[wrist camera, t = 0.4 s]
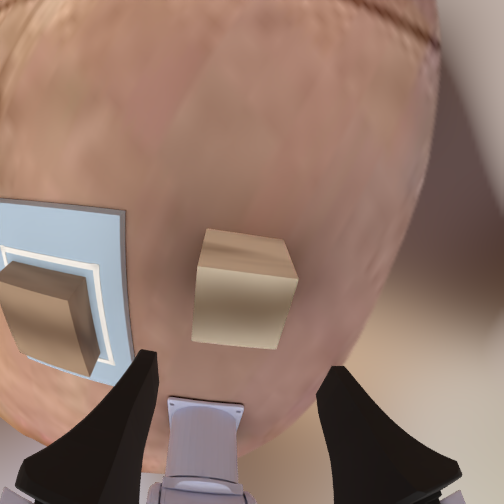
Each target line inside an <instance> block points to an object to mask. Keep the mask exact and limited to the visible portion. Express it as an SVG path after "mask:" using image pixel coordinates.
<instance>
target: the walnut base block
mask: <svg viewBox="0 0 504 504" xmlns="http://www.w3.org/2000/svg"><path fill="white" fill-rule="evenodd" d="M0 304H1V307H2V310H3V313H4V316H5V318H6V321H7V323H8V326H9V328H10V331H11V333H12V336H13V338H14V340H15V342H16V345H17V347H18V349H19V351H20V353H22V354H25V355H27V356H29V357H32V358H34V359H37V360H40V361H42V362H45V363H47V364H50V365H53V366H56V367H59V368H62V369H64V370H67V371H71V372H74V373H77V374H80V375H83V376H87V377H90V376H91V374H92V371H93V369H94V367H95V364H96V362H97V360H98V358H99V355H100V349H99V345H98V340H97V336H96V332H95V327H94V322H93V317H92V312H91V307H90V301H89V295H88V289H87V282H86V277H83V276H78V275H73V274H68V273H63V272H59V271H54V270H50V269H45V268H41V267H37V266H32V265H28V264H24V263H20V262H16V261H12V262H10V263H9V264H8V265H7V266H6V267H5V268H4V269H2V270H1V271H0Z"/></svg>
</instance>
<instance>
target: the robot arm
mask: <svg viewBox="0 0 504 504" xmlns="http://www.w3.org/2000/svg"><path fill="white" fill-rule="evenodd" d="M158 387H159V375H158V363H157V352H154V351H148V350H143V349H142V350H140V351H139V352H138V354H137V356H136V357H135V359H134V360H133V362H132V363H131V365H130V366H129V367H128V369H127V370H126V372H125V373H124V374H123V376H122V377H121V378H120V379H119V381H118V382H117V383H116V385H115V386H114V387H113V388H112V390H111V391H110V392H109V393H108V394H107V395H106V396H105V398H104V399H103V400H102V401H101V402H100V403H99V404H98V405H97V406H96V407H95V408H94V409H93V410H92V411H91V412H90V413H89V414H88V415H87V416H86V417H85V418H84V419H83V420H82V421H81V422H80V423H78V424H77V425H76V426H75V427H74V428H73V429H71V430H70V431H69V432H68V433H66V434H65V435H64V436H62V437H61V438H59V439H58V440H56V441H55V442H53V443H52V444H51V445H49V446H48V447H46V448H44V449H43V450H41V451H39V452H37V453H35V454H33V455H32V456H30V457H28V458H26V459H24V461H23V463H22V465H21V467H20V470H19V472H18V476H17V479H16V483H15V487H16V488H17V489H19V490H20V491H22V492H24V493H25V494H27V495H29V496H31V497H32V498H34V499H35V502H34V503H32V502H31V501H29V500H27V499H25V498H23V497H21V496H20V495H18V494H16V493H15V492H13V491H11V490H10V489H8V488H7V487H4V489H3V492H2V496H1V500H0V504H139V493H140V479H141V469H142V460H143V453H144V448H145V444H146V440H147V436H148V432H149V428H150V424H151V421H152V417H153V413H154V409H155V405H156V400H157V393H158ZM316 398H317V406H318V414H319V418H320V422H321V425H322V429H323V433H324V437H325V441H326V444H327V448H328V452H329V456H330V461H331V469H332V477H333V489H334V504H465V501H464V498H463V496H462V493H461V491H460V490H458V491H456V492H455V493H453V494H451V495H449V496H448V497H446V498H444V499H442V500H441V501H439V498H438V497H440V496H441V495H442V494H441V491H440V490H442V489H443V488H445V487H447V486H448V485H450V484H451V483H453V482H455V481H456V480H458V479H459V478H460V477H462V472H461V470H460V468H459V465H458V463H457V461H455V460H452V459H450V458H448V457H446V456H443V455H441V454H439V453H437V452H435V451H433V450H431V449H430V448H428V447H426V446H425V445H423V444H422V443H420V442H419V441H417V440H416V439H414V438H413V437H412V436H410V435H409V434H407V433H406V432H405V431H404V430H403V429H402V428H400V427H399V426H398V425H397V424H396V423H395V422H394V421H392V420H391V419H390V418H389V417H388V416H387V415H386V414H385V413H384V412H383V411H382V410H381V409H380V408H379V406H378V405H377V404H376V403H375V402H374V401H373V400H372V399H371V398H370V396H369V395H368V394H367V393H366V392H365V390H364V389H363V388H362V387H361V386H360V384H359V383H358V382H357V381H356V380H355V378H354V377H353V376H352V375H351V373H350V372H349V371H348V370H347V369H346V368H345V367H344V366H332V367H331V368H330V370H329V372H328V374H327V376H326V378H325V379H324V381H323V383H322V385H321V386H320V388H319V390H318V391H317V393H316ZM167 402H168V413H169V423H170V438H169V446H168V454H167V463H166V472H165V476H163V482H162V483H158V482H155V484H153V485H152V486H150V488H149V491H148V496H147V503H146V504H257V502H256V500H255V498H254V497H253V496H252V495H251V494H250V493H249V492H247V491H243V485H242V484H238V470H237V469H238V468H237V442H236V432H237V429H238V426H239V423H240V420H241V417H242V414H243V411H244V406H243V405H240V404H226V403H215V402H206V401H197V400H189V399H182V398H175V397H169V398H168V401H167Z"/></svg>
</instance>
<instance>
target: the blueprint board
mask: <svg viewBox="0 0 504 504" xmlns="http://www.w3.org/2000/svg"><path fill="white" fill-rule="evenodd" d="M12 261H16V262H20V263H24V264H28V265H32V266H37V267H41V268H45V269H50V270H54V271H59V272H63V273H68V274H73V275H78V276H83V277H86V282H87V289H88V295H89V301H90V307H91V312H92V317H93V322H94V327H95V332H96V336H97V340H98V345H99V349H100V355H99V358H98V360H97V362H96V364H95V367H94V369H93V371H92V374H91V376H90V377H87V376H83V375H80V374H77V373H74V372H71V371H67V370H64V369H62V368H59V367H56V366H53V365H50V364H47V363H45V362H42V361H40V360H37V359H34V358H32V357H29V356H27V357H28V358H29V359H32V360H34V361H37V362H39V363H42V364H44V365H47V366H50V367H53V368H55V369H58V370H61V371H64V372H67V373H70V374H73V375H76V376H79V377H83V378H86V379H89V380H93V381H96V382H100V383H104V384H108V385H111V386H115V385H116V383H117V382H118V381H119V379H120V378H121V377H122V376H123V374H124V373H125V372H126V370H127V369H128V367H129V366H130V365H131V363H132V362H133V360H134V359H135V356H134V349H133V342H132V334H131V326H130V316H129V306H128V293H127V278H126V253H125V211H124V210H115V209H106V208H97V207H88V206H79V205H69V204H59V203H49V202H39V201H28V200H16V199H4V198H0V271H1V270H2V269H4V268H5V267H6V266H7V265H8V264H9V263H10V262H12Z"/></svg>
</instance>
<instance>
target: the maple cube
mask: <svg viewBox="0 0 504 504" xmlns="http://www.w3.org/2000/svg"><path fill="white" fill-rule="evenodd" d="M298 280H299V278H298V276H297V273H296V271H295V268H294V265H293V263H292V260H291V258H290V255H289V252H288V250H287V247H286V245H285V242H284V240H283V239H276V238H270V237H263V236H256V235H249V234H243V233H236V232H229V231H222V230H214V229H206V233H205V237H204V241H203V245H202V249H201V253H200V258H199V262H198V266H197V276H196V287H195V299H194V311H193V324H192V340H191V341H196V342H203V343H211V344H220V345H229V346H239V347H250V348H262V349H276V348H277V345H278V342H279V339H280V336H281V333H282V330H283V327H284V324H285V321H286V318H287V315H288V312H289V309H290V306H291V303H292V299H293V296H294V293H295V290H296V287H297V283H298Z"/></svg>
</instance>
